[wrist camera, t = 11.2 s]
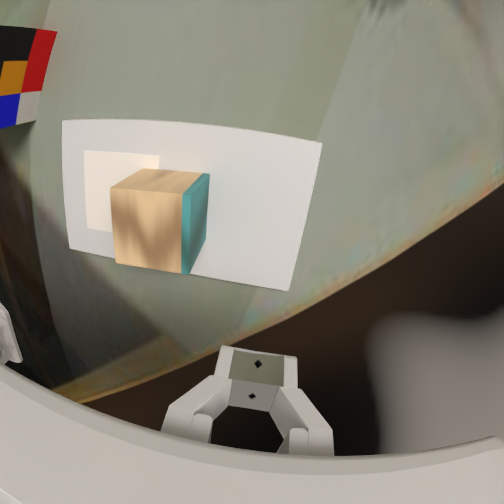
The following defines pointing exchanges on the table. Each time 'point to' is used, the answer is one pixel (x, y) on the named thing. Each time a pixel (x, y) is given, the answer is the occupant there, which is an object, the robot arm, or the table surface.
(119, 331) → the table surface
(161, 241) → the wood cube
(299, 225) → the grey board
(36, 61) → the puzzle toy
